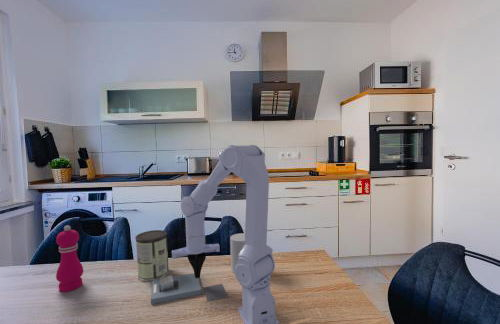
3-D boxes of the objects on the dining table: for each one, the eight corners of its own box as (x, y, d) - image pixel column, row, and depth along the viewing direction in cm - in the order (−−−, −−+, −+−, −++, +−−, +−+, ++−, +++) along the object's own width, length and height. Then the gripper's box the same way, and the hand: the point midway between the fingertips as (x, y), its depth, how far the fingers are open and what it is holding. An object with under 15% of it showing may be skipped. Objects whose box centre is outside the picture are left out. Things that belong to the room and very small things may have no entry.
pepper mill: (70, 293, 79) (66, 229, 78) (51, 291, 80) (46, 228, 79) (89, 281, 86) (86, 222, 85) (71, 280, 87) (67, 222, 86)
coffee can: (146, 267, 96) (144, 229, 95) (173, 267, 95) (171, 230, 94) (131, 281, 86) (129, 239, 85) (161, 282, 85) (159, 240, 84)
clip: (173, 281, 77) (160, 283, 76) (173, 294, 78) (161, 297, 76) (171, 275, 81) (159, 277, 80) (172, 287, 81) (160, 290, 80)
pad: (228, 298, 74) (228, 297, 74) (207, 302, 72) (207, 301, 72) (222, 284, 82) (222, 283, 82) (203, 288, 80) (203, 287, 80)
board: (201, 295, 76) (201, 288, 76) (151, 305, 72) (150, 298, 72) (196, 277, 87) (196, 272, 87) (152, 286, 82) (152, 280, 82)
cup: (254, 275, 87) (253, 241, 87) (230, 276, 87) (229, 241, 87) (254, 265, 95) (253, 233, 95) (232, 265, 96) (231, 233, 95)
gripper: (215, 227, 86) (217, 267, 87) (170, 233, 82) (172, 275, 82) (220, 233, 80) (222, 276, 80) (171, 240, 75) (173, 286, 76)
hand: (197, 276), depth 81 cm, fingers closed
